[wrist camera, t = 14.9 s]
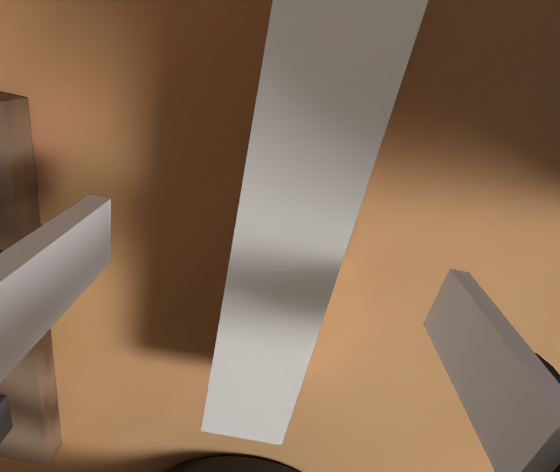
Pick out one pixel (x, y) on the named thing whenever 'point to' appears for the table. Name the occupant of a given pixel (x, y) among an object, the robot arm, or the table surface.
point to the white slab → (301, 197)
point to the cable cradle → (39, 360)
